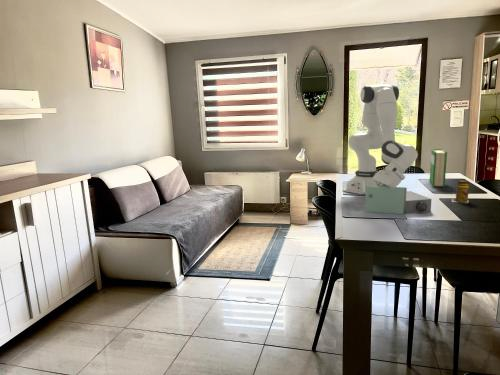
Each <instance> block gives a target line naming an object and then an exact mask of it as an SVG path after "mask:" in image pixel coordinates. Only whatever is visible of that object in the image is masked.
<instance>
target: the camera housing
mask: <svg viewBox="0 0 500 375" xmlns="http://www.w3.org/2000/svg"><path fill="white" fill-rule="evenodd" d="M432 200H433V199H432V198H430V197H428V196H426V195H425V196H424V195H422V194H420V193H417V192H414V191H410V190H407V191H406V211H405V214H404V215H406V214H419V213H421V214H422V213H430V212H432Z"/></svg>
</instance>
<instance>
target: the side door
mask: <svg viewBox="0 0 500 375" xmlns="http://www.w3.org/2000/svg"><path fill="white" fill-rule="evenodd" d="M406 191H408V190H407V187H403V186H402V187H399V186H396V187H395V188H394V189H390V188H389V187H381V186H366V194H365V200H364V201H365V203H364V204H365V206H364V210H365V211H364V212H366V213H380V212H381V213H382V214H394V213H395V214H396V215H406V214H405V211H406ZM381 213H380V214H381Z"/></svg>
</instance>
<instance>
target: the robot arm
mask: <svg viewBox="0 0 500 375" xmlns="http://www.w3.org/2000/svg"><path fill="white" fill-rule="evenodd" d="M359 95H360V100H361V102H362V103H364V105H363V111H362V117H361V118H362V119H361V124H362V125H363V126H364V127H365V128H367V130H368V131H367V132H357V133H354V134H351V135H350V136H349V138H348V140H347V141H348V147H349V148H350V149H351V150H353V151H354V153H355V155H356V157H357V162H358V169H357V170H356V171H354V174H355V176H353V177H352V178H350V179H348V181H347V183H346V187H344V188H343V189H342V192H345V193H346V192H347V193H354V194H359V195H366V186H381V187H389V188H390V189H394V188H395V187H399V185H400V184H401V182H402V181H404V180H406V176H405V175H404V173H405V172H406V170H407V169H408V168H410V167H411V166H412V165H413V164H414V163H415V162H416V160H417V159H418V156H419V154H418V151H417V149H416V148H415V147H414V146H413V145H411V144H403V143H399V142H397V141H396V137H395V134H396V133H395V130H396V129H395V128H396V123H397V117H398V103H397V101H398V99H399V96H400V89H399V87H398V86H397V85H392V84H372V85H370V84H369V85H364V86H363V87H362V88H361V91H360V94H359ZM379 149H381V150H380V151H381V161H382V162H383V164H385V165H386V166H385V167H384V169H381V170H378V171H379V172H378V173H376V171H377V159H376V157H375V156H374V155H371V154H370V150H379ZM376 183H377V184H376Z"/></svg>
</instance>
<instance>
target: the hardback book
mask: <svg viewBox="0 0 500 375" xmlns="http://www.w3.org/2000/svg"><path fill="white" fill-rule="evenodd" d="M430 150H431V153H430V154H431V155H430V156H431V157H430V169H429V184H430V185H431V187H432V188H435V187H442V188H445V187H446V186H445V185H446V173H447V160H448V159H447V157H448V152H447V151H446V149H444V148H436V149H435V148H431V149H430Z"/></svg>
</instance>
